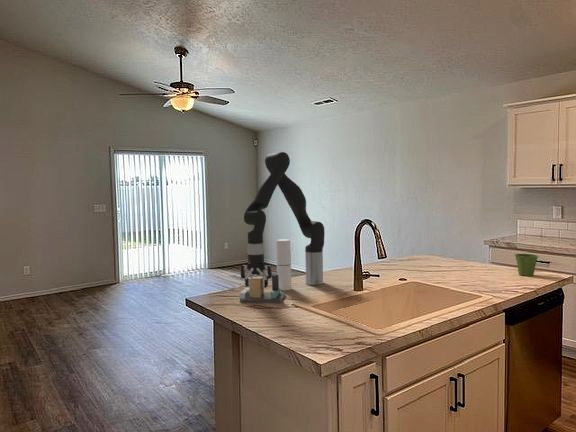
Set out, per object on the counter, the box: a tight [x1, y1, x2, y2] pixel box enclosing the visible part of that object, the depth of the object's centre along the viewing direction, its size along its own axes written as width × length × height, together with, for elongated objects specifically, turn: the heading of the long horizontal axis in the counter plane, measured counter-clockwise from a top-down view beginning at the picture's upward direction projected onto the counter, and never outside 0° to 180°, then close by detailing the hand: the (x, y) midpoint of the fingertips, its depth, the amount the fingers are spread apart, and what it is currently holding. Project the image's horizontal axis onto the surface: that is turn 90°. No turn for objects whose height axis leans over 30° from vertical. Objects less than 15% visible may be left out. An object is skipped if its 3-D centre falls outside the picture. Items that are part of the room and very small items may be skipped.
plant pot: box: [514, 253, 540, 277], centre depth 240 cm, size 12×12×11 cm
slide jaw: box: [270, 273, 281, 298], centre depth 200 cm, size 11×3×10 cm, turn 170°
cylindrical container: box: [275, 238, 292, 291], centre depth 219 cm, size 7×7×25 cm
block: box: [249, 276, 265, 298], centre depth 202 cm, size 8×5×8 cm, turn 171°
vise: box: [239, 286, 286, 304], centre depth 202 cm, size 12×19×4 cm, turn 80°
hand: (256, 287), depth 202 cm, fingers open, 8 cm apart
